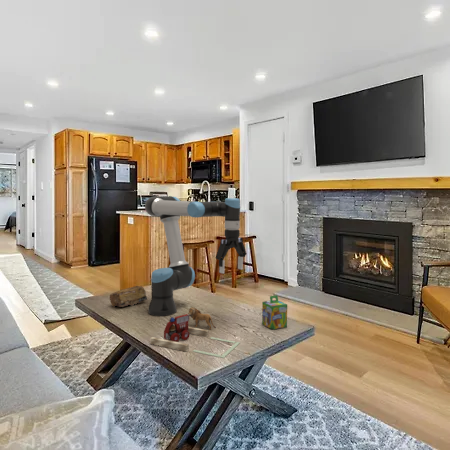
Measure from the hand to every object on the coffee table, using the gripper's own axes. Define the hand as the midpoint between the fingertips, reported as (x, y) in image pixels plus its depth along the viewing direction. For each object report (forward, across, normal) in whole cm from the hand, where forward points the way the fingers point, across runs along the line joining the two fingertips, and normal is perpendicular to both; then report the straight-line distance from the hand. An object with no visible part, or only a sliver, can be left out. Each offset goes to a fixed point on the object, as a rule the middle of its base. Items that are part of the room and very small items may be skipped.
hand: (231, 271), depth 181 cm
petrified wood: (+27, -21, +63) cm, 72 cm away
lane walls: (+26, -34, -1) cm, 42 cm away
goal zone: (+25, -28, -17) cm, 42 cm away
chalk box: (+26, +10, -20) cm, 34 cm away
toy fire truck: (+26, -34, +1) cm, 43 cm away
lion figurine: (+26, -16, +4) cm, 31 cm away
